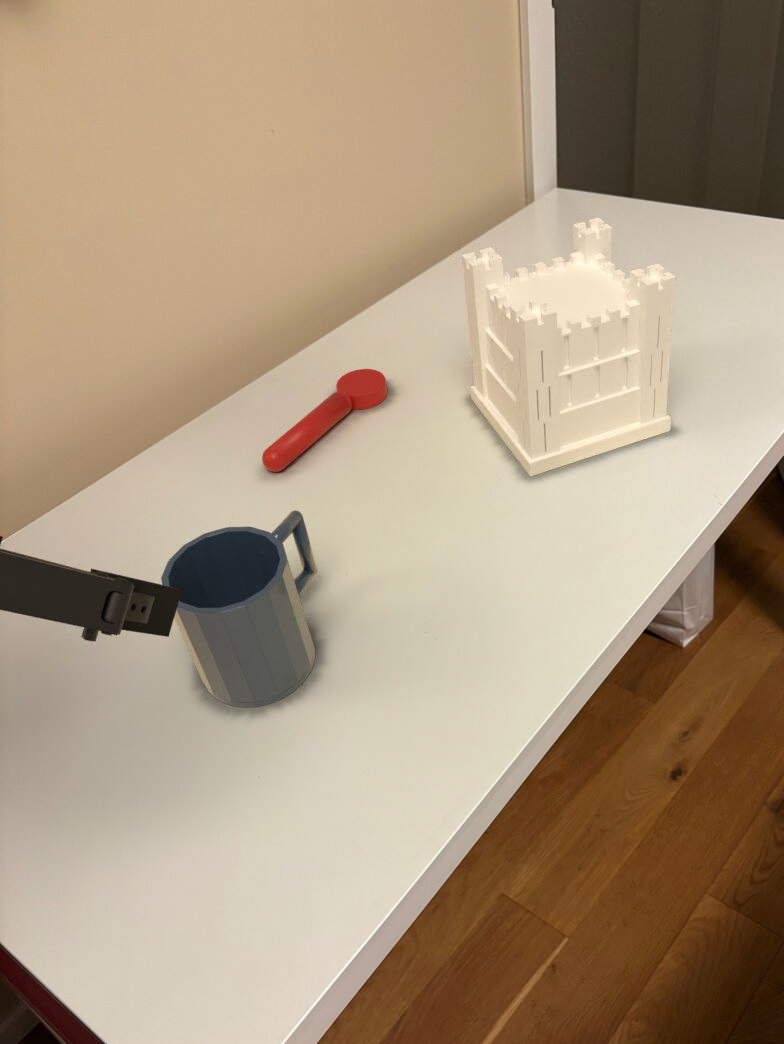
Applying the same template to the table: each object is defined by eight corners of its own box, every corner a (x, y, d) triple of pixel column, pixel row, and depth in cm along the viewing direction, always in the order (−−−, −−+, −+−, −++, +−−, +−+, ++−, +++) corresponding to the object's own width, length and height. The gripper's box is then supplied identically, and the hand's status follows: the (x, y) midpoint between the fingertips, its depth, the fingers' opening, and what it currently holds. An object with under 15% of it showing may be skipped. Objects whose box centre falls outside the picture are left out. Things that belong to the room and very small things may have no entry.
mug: (273, 722, 68) (237, 627, 61) (180, 686, 71) (135, 592, 64) (365, 602, 76) (342, 505, 69) (277, 575, 79) (247, 480, 72)
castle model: (471, 398, 94) (456, 254, 84) (598, 359, 97) (600, 215, 86) (530, 476, 85) (522, 324, 74) (670, 430, 87) (681, 277, 77)
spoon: (289, 483, 88) (284, 462, 86) (250, 469, 90) (243, 448, 88) (397, 388, 97) (393, 368, 95) (358, 377, 99) (354, 357, 98)
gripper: (-531, 526, 40) (-91, 593, 60) (-123, 690, 31) (234, 705, 51) (-477, 355, 40) (-57, 479, 60) (-57, 469, 31) (273, 570, 51)
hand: (77, 583), depth 55 cm, fingers open, 13 cm apart
